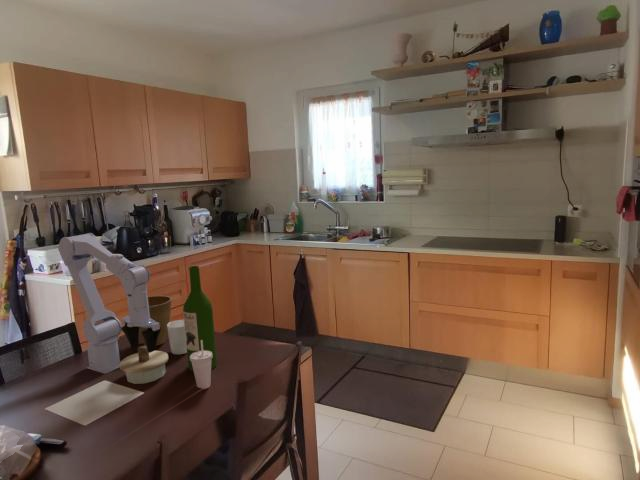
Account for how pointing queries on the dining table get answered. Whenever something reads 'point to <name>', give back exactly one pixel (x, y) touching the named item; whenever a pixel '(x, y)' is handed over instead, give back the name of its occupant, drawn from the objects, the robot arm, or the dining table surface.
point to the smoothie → (202, 367)
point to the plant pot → (158, 316)
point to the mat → (94, 402)
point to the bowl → (146, 375)
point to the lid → (143, 361)
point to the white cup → (177, 337)
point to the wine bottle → (198, 320)
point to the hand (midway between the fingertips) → (143, 349)
